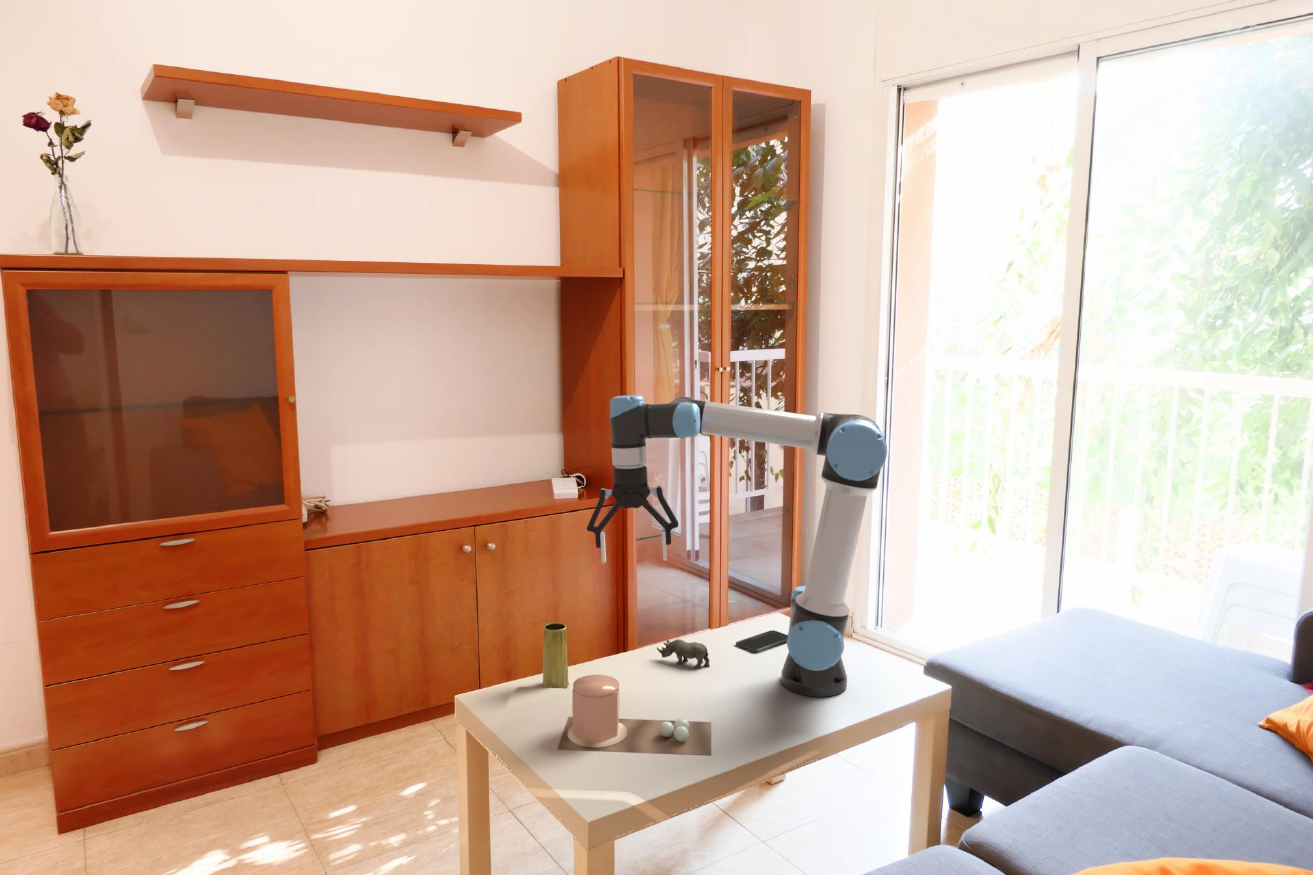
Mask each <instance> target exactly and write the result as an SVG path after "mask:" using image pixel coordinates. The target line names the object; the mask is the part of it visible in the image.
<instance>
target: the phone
mask: <svg viewBox="0 0 1313 875" xmlns="http://www.w3.org/2000/svg"><path fill="white" fill-rule="evenodd" d="M787 636H788V634H785V633H783V632H780V631H778V630H775V629H774V630H768V631H765V632H762V633H759V634H756V635H752V636H750V637H747V638H744V639H742V640H738V641H736V642H735V647H736V648H739V649H742V650H744V651H746V652H749V653H751V654H756V655H757V654H761V653H764V652H766V651H767V652H768V651H769V650H772V649H775V648H777V647H780V646H783V645H784V646H785V645H787Z"/></svg>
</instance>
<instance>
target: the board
mask: <svg viewBox="0 0 1313 875" xmlns="http://www.w3.org/2000/svg"><path fill="white" fill-rule="evenodd" d="M666 721H667V722H670V723H672V725H673V726H674V725H675V722H676V720H671V719H670V720H669V719H668V720H666V719H665V720H664V719H643V718H641V719H640V718H637V719H636V718H619V723H621V724H623V725H624V726H625V727H626V729H627V736H626V738H625V739H624V740H623V741H622V742H620V743H619V744H617V745H614V746H610V747H606V748H586V747H582V746H578V745H576V744H574V743H573V742H571V741H570V740H569V738H568V730H569V728H570V727H571V726H572V725H573V716H568V717H567V720H566V724H565V726H564V729H563V731H562V734H561V736H560V740H559V743H558V746H557V748H556V749H557V750H559V751H560V750H561V751H584V752H585V751H586V752H587V751H588V752H605V753H607V752H609V753H610V752H611V753H634V754H655V755H656V754H658V755H659V754H660V755H661V754H662V755H681V756H682V755H684V756H685V755H687V756H709V757H710V756H712V722H711V721H697V720H695V721H693V720H692V721H691V720H687V721H688V723H689V729H688V732H689V736H688V739H687V740H686V741H684V742H679V741H677V740H676V739H675V737H674V732H673V734H672V735H671V736H670V737H664V736H662V735H661V734H660V732H659V727H660V725H661V724H662V723H663V722H666ZM674 730H675V727H674Z"/></svg>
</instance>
